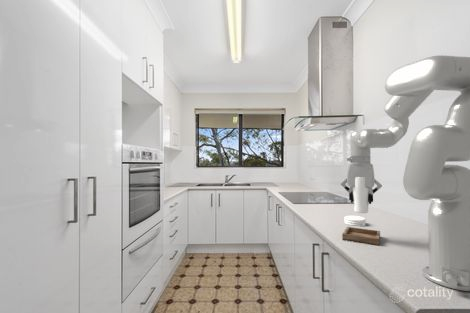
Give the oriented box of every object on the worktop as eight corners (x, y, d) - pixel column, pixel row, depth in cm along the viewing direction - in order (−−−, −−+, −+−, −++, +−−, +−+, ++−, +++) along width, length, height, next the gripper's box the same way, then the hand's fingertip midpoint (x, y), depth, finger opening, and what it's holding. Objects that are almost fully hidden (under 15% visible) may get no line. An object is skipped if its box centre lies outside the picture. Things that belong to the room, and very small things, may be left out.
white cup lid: (360, 222, 131) (360, 215, 131) (369, 227, 121) (369, 219, 121) (341, 221, 132) (341, 215, 132) (348, 226, 122) (348, 219, 122)
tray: (378, 245, 93) (378, 239, 93) (342, 239, 100) (342, 233, 100) (380, 236, 104) (380, 231, 104) (347, 232, 111) (347, 226, 111)
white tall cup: (372, 214, 99) (372, 177, 99) (354, 213, 100) (354, 177, 100) (367, 210, 105) (366, 176, 105) (350, 210, 107) (350, 176, 107)
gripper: (337, 160, 104) (337, 202, 104) (384, 160, 95) (384, 206, 95) (340, 160, 111) (340, 199, 110) (384, 160, 101) (385, 203, 101)
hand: (360, 202), depth 103 cm, fingers closed on white tall cup, 6 cm apart
